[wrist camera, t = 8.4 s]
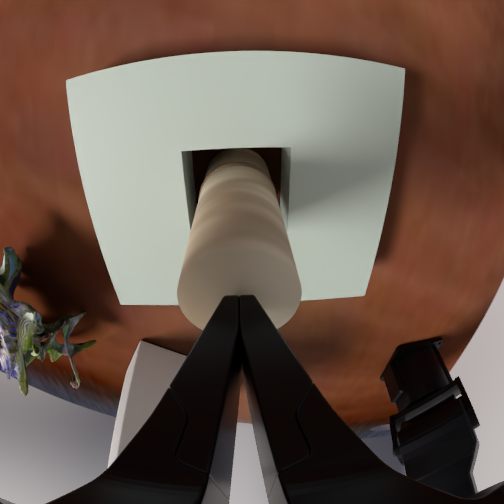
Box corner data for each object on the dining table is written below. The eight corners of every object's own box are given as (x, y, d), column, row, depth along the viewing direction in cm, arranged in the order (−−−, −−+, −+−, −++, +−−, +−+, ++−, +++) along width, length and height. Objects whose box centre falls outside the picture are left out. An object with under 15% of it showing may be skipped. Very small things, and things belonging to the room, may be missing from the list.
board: (378, 66, 13) (405, 68, 10) (351, 268, 21) (364, 295, 18) (92, 76, 12) (65, 80, 10) (132, 276, 20) (120, 304, 18)
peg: (270, 145, 16) (309, 243, 7) (269, 204, 18) (297, 336, 10) (203, 147, 16) (164, 248, 7) (207, 206, 18) (186, 340, 9)
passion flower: (44, 235, 24) (-28, 224, 12) (129, 293, 26) (88, 319, 14) (8, 327, 23) (-59, 355, 11) (86, 384, 25) (42, 445, 13)
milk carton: (126, 372, 28) (99, 538, 12) (140, 337, 24) (107, 548, 9) (186, 391, 30) (179, 551, 14) (212, 362, 27) (210, 560, 11)
